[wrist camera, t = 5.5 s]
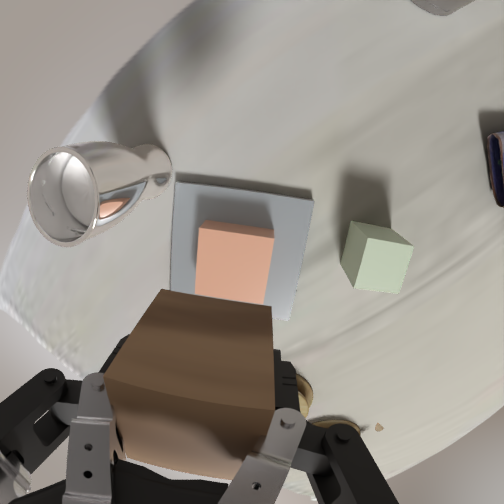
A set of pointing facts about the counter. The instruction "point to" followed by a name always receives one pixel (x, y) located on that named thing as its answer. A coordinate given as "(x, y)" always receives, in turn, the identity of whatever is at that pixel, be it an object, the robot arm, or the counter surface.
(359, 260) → the block
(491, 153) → the purple clover wallet
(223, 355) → the block
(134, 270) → the counter surface
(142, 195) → the beer glass
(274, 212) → the plate
